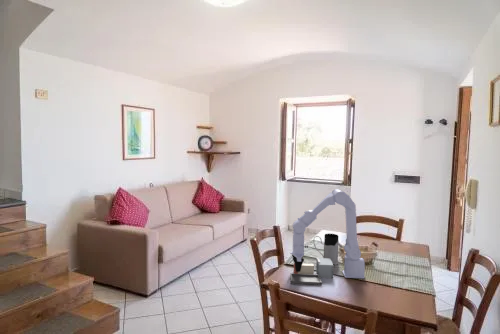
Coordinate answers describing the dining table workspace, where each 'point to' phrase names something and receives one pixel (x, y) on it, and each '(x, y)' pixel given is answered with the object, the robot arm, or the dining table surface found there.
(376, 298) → the dining table surface
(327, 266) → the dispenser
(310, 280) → the tray
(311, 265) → the pink-topped cream pillar
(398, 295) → the dining table surface
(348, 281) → the dining table surface
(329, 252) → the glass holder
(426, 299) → the dining table surface
